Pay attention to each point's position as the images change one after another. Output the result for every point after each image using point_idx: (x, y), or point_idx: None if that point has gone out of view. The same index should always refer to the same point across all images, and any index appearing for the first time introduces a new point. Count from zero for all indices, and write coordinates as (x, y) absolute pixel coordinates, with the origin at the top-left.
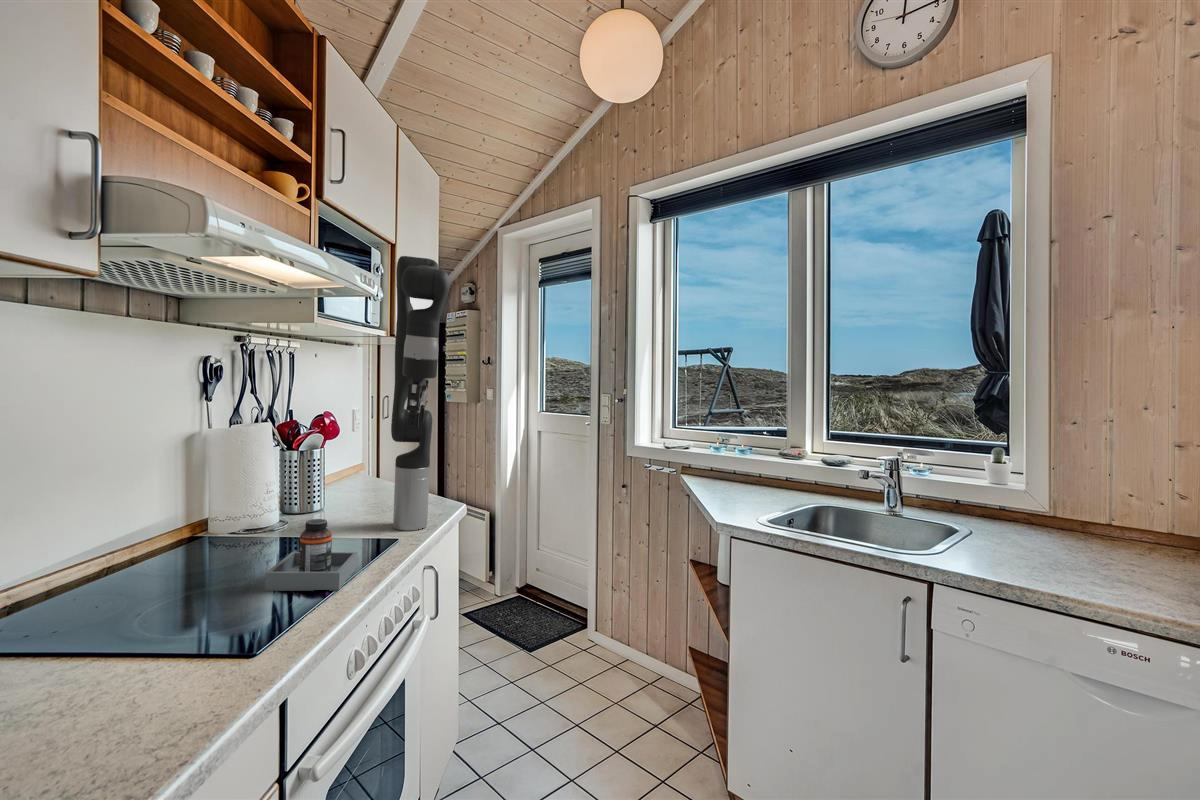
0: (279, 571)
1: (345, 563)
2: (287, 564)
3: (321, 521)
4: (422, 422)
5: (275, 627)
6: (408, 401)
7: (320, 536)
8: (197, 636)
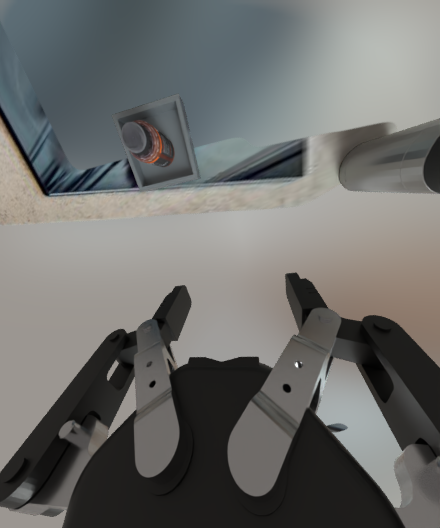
0: (138, 116)
1: (163, 183)
2: (158, 110)
3: (134, 146)
4: (287, 295)
5: (77, 182)
6: (87, 367)
7: (133, 155)
8: (39, 134)
